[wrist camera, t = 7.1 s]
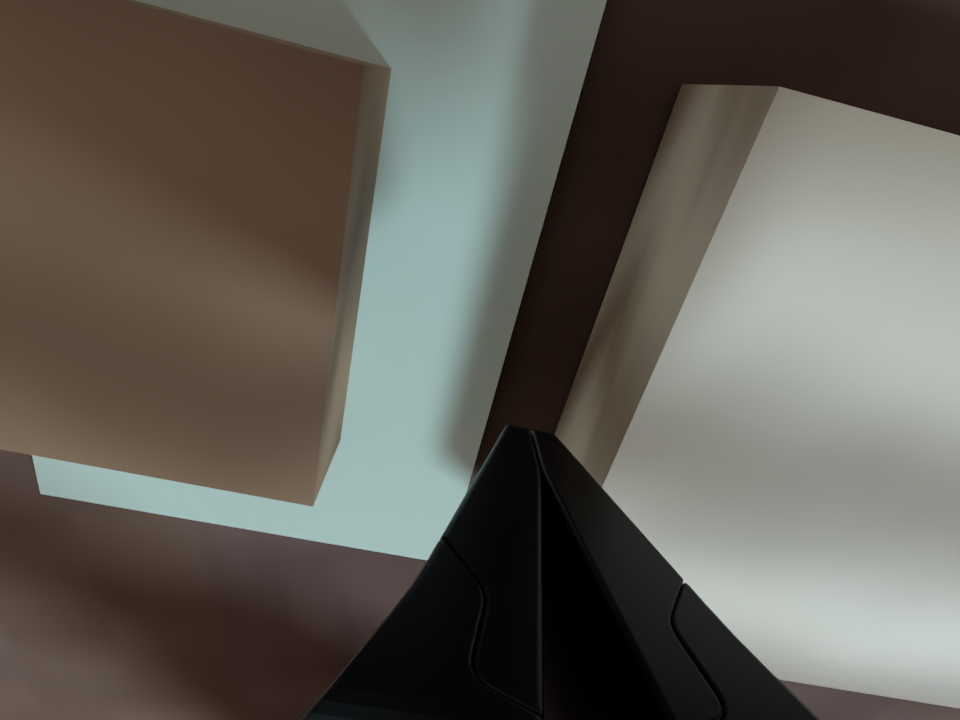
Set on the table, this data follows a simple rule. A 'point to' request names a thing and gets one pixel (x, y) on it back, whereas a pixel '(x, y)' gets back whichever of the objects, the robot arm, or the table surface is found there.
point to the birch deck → (792, 383)
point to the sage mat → (412, 257)
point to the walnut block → (180, 243)
